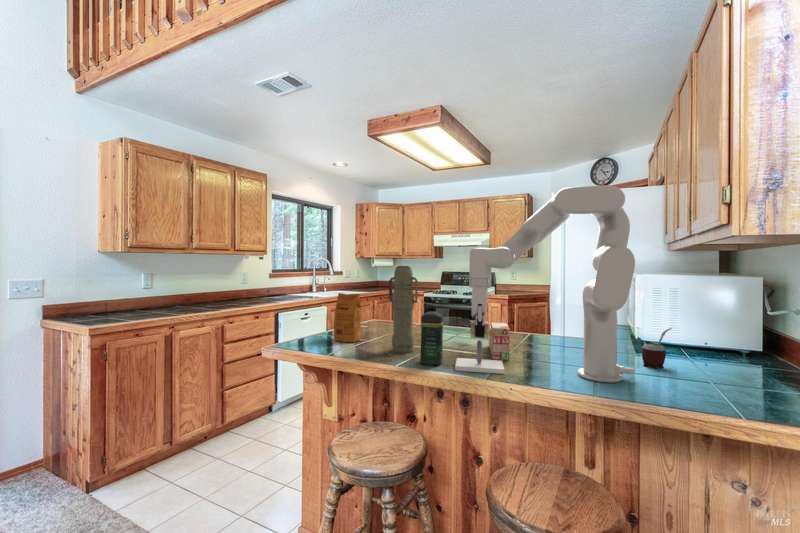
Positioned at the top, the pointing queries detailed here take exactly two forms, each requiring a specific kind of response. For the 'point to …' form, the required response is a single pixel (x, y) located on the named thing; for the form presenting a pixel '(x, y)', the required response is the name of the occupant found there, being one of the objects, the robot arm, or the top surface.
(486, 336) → the bead
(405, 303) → the thermos
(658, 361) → the mate gourd
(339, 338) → the coffee package
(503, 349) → the food package box
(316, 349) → the top surface
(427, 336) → the coffee jar
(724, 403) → the top surface
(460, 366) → the needle board
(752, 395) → the top surface
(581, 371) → the robot arm
